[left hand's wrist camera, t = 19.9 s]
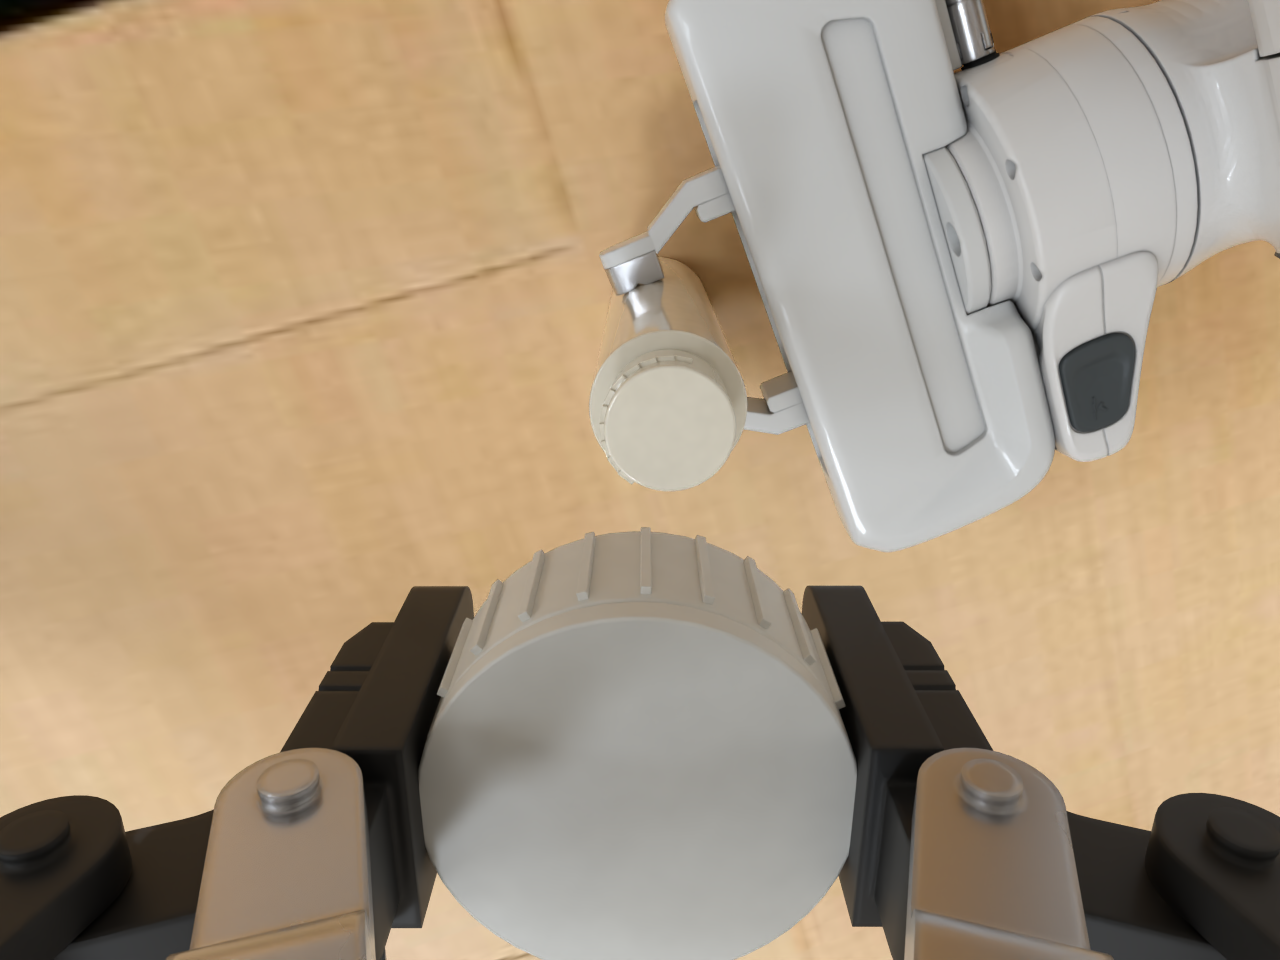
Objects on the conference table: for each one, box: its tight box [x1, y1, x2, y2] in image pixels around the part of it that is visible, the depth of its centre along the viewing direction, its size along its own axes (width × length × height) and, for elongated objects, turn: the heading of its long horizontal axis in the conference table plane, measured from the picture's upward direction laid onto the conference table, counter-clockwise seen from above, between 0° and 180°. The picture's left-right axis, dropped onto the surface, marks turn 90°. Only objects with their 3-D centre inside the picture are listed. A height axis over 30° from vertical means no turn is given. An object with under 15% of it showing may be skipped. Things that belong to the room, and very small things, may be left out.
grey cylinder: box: [589, 257, 747, 491], centre depth 29 cm, size 4×4×17 cm
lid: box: [418, 527, 857, 960], centre depth 10 cm, size 5×5×2 cm
